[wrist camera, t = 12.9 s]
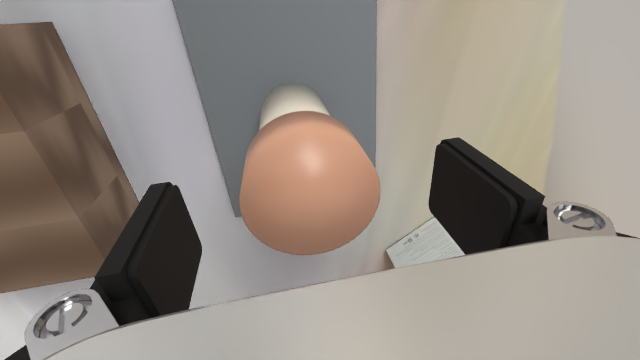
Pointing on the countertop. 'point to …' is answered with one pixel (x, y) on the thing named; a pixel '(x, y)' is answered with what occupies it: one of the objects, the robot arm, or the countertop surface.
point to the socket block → (53, 167)
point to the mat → (279, 66)
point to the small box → (424, 246)
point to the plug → (305, 177)
